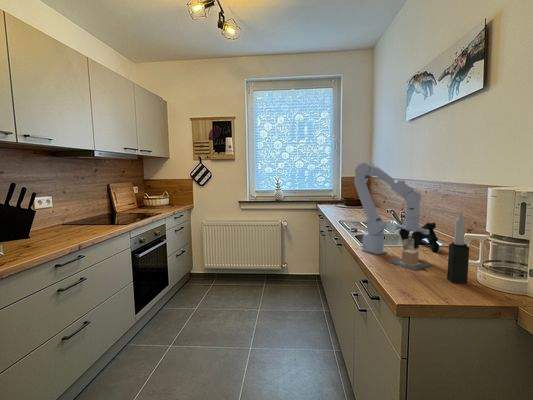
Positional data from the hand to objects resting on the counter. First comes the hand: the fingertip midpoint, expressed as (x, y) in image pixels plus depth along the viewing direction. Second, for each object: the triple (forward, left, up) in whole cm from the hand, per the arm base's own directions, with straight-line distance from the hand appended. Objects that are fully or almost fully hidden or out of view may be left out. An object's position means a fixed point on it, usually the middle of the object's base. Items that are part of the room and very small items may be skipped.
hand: (410, 247), depth 128 cm
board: (+5, -9, -5) cm, 11 cm away
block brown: (+5, -9, -4) cm, 11 cm away
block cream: (0, 0, -2) cm, 2 cm away
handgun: (-7, +26, -5) cm, 27 cm away
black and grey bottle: (+25, -13, -5) cm, 29 cm away
